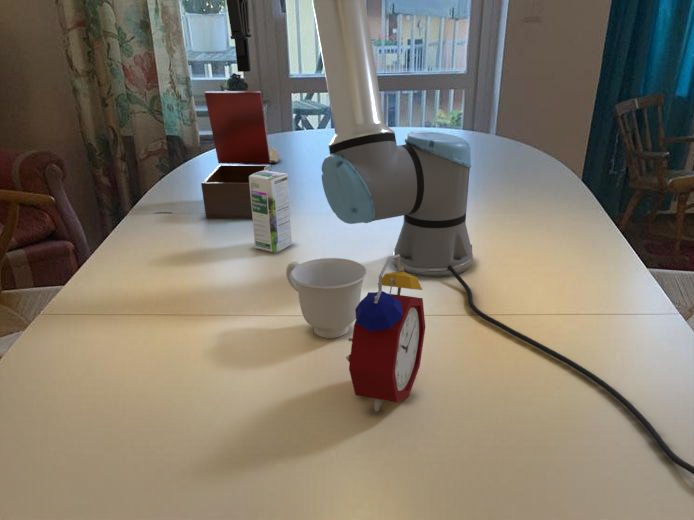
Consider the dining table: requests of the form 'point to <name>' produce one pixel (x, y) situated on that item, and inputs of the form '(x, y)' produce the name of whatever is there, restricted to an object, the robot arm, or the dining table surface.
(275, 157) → the stone
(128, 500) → the dining table surface
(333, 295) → the teacup
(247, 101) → the lid
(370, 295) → the alarm clock
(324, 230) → the dining table surface
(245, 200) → the chest
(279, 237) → the syrup box
